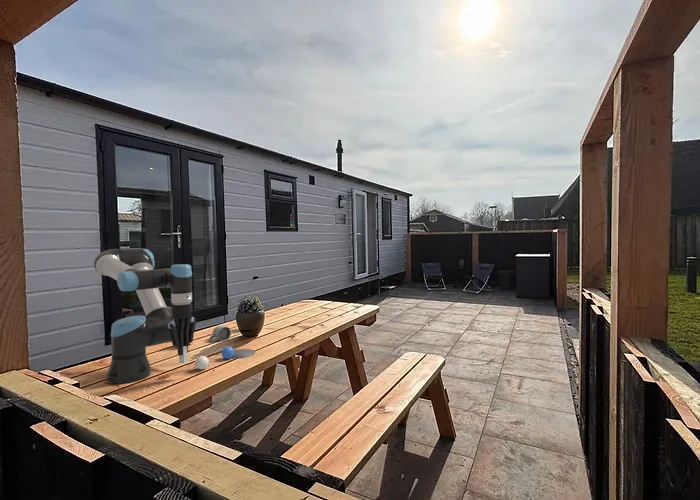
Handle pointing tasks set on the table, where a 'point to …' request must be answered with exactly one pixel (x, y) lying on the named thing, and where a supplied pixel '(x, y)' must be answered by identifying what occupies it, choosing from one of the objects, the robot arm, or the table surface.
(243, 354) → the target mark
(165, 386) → the table surface
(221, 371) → the table surface
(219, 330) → the ceramic mug
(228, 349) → the blue ball
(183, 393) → the table surface
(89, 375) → the table surface
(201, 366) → the white ball
